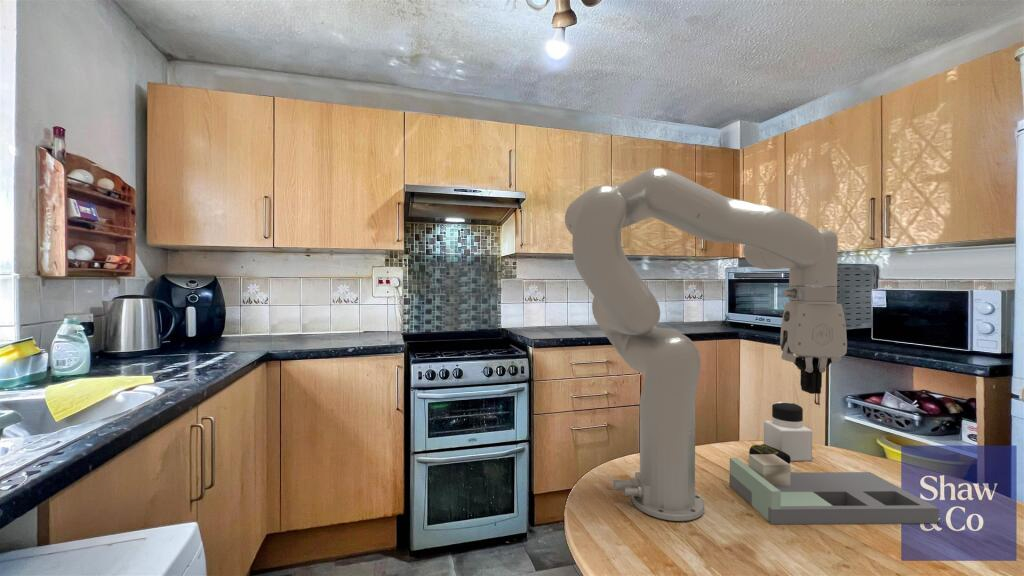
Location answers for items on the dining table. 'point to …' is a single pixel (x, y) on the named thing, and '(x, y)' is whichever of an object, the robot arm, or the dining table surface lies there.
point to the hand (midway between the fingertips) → (810, 391)
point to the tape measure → (769, 452)
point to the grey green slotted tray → (830, 498)
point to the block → (771, 468)
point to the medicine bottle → (788, 431)
